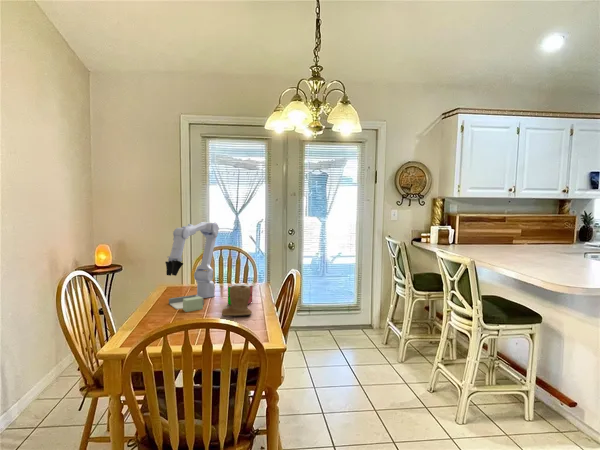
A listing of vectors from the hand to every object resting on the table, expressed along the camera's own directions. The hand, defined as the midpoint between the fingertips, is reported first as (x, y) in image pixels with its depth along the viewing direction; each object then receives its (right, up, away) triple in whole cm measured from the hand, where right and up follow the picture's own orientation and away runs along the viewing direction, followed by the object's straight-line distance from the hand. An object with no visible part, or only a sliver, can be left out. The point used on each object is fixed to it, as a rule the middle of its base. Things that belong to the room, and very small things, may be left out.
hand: (171, 275), depth 201 cm
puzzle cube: (+33, -18, +16) cm, 41 cm away
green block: (+10, -18, +3) cm, 21 cm away
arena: (+5, -17, +11) cm, 21 cm away
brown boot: (+34, -20, -3) cm, 40 cm away
